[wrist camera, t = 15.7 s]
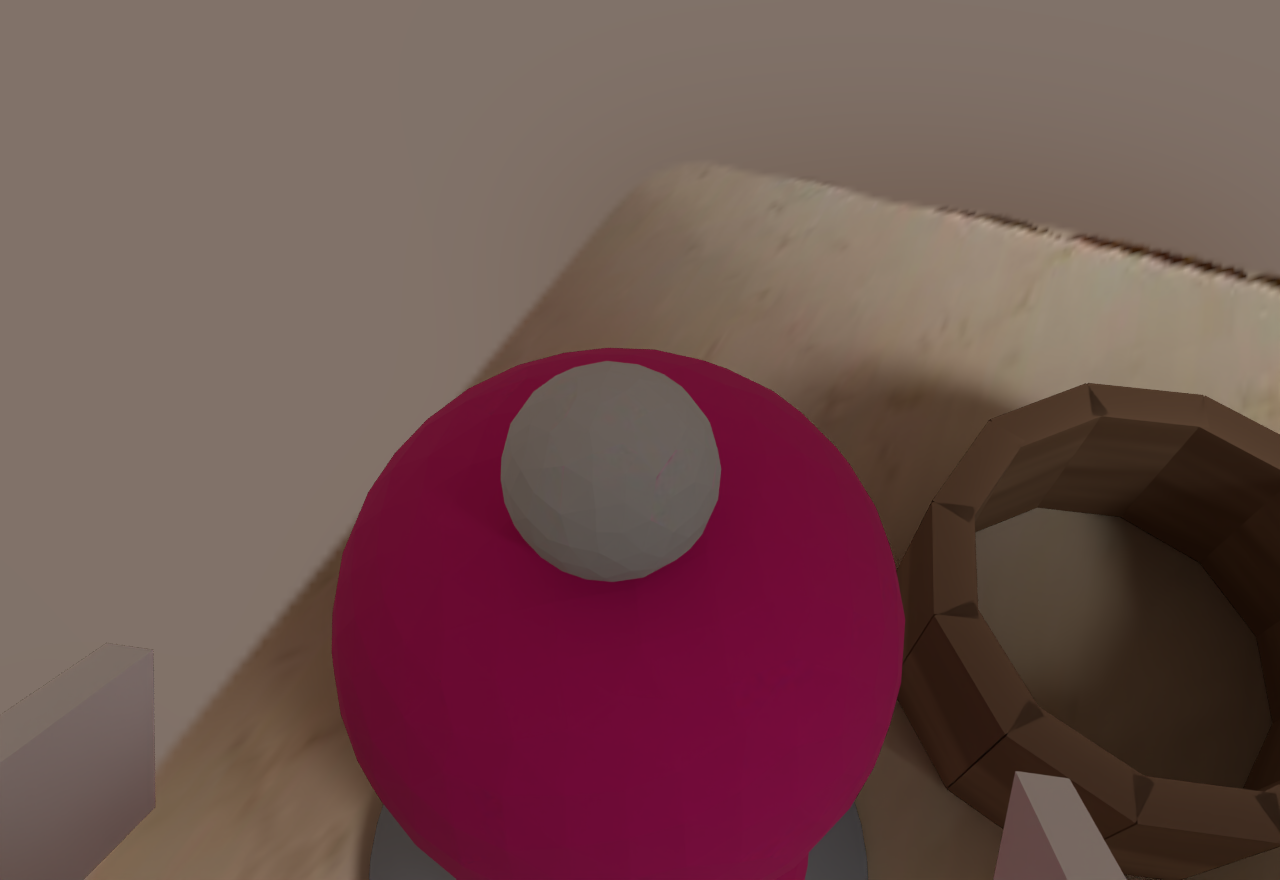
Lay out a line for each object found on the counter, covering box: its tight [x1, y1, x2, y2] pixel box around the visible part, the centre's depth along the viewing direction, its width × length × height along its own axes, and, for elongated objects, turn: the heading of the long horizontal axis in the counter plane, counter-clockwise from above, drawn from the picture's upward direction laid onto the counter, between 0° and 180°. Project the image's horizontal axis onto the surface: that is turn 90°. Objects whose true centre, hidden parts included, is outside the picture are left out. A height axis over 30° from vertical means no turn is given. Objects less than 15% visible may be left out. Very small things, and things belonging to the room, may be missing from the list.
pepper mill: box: [332, 348, 905, 880], centre depth 16 cm, size 7×7×20 cm
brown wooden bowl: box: [896, 383, 1280, 880], centre depth 26 cm, size 11×11×5 cm
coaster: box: [369, 802, 868, 880], centre depth 25 cm, size 12×12×1 cm
